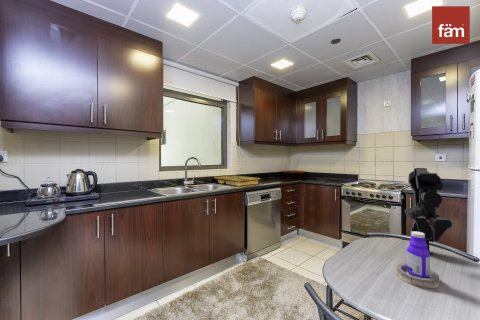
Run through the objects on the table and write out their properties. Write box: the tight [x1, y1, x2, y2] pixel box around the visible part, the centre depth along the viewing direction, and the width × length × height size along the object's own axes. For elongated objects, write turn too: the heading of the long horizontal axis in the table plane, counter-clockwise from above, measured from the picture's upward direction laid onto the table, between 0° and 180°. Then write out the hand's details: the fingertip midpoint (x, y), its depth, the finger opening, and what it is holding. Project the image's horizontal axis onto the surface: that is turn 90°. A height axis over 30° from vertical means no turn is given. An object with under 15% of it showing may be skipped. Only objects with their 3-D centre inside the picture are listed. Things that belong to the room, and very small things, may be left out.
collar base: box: [396, 262, 440, 290], centre depth 87 cm, size 13×13×3 cm
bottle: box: [406, 231, 431, 279], centre depth 87 cm, size 7×6×17 cm
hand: (428, 237), depth 96 cm, fingers open, 9 cm apart
